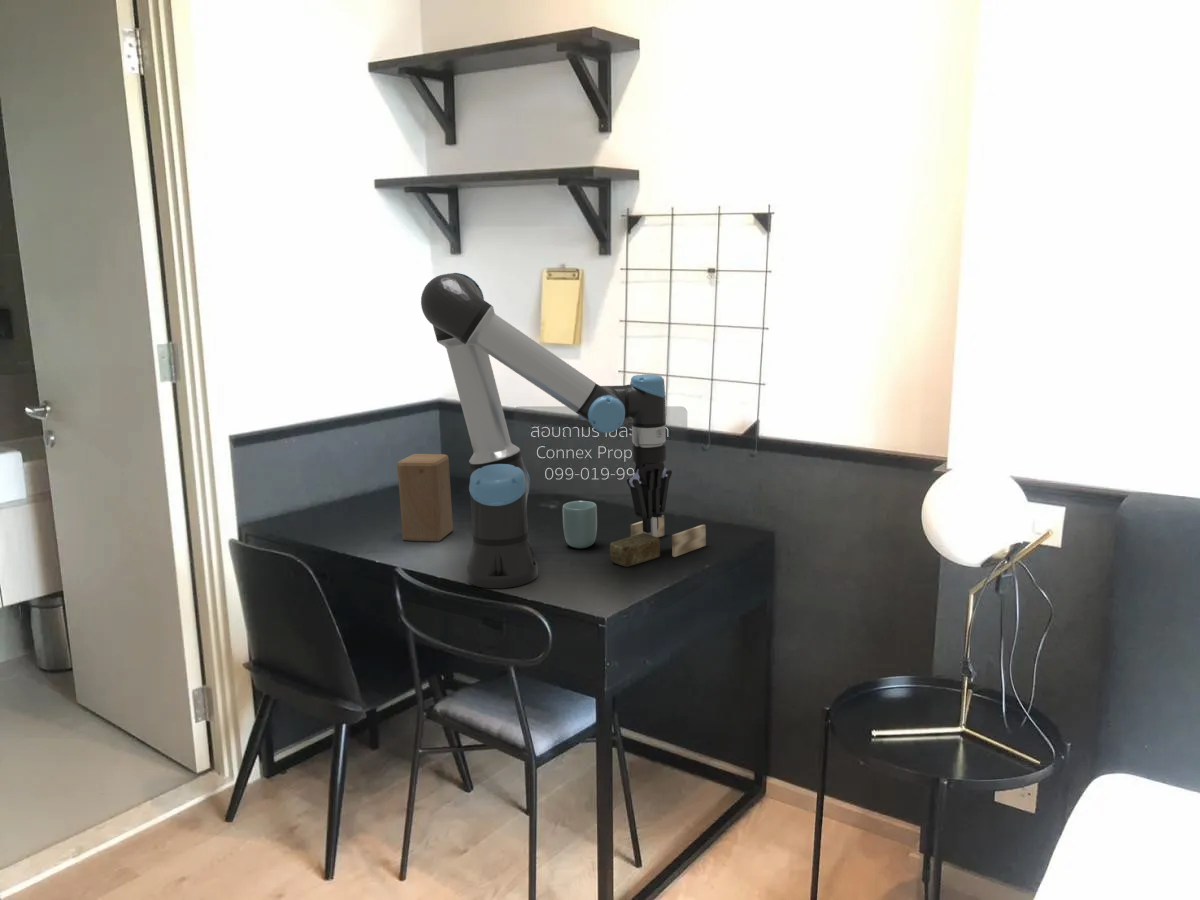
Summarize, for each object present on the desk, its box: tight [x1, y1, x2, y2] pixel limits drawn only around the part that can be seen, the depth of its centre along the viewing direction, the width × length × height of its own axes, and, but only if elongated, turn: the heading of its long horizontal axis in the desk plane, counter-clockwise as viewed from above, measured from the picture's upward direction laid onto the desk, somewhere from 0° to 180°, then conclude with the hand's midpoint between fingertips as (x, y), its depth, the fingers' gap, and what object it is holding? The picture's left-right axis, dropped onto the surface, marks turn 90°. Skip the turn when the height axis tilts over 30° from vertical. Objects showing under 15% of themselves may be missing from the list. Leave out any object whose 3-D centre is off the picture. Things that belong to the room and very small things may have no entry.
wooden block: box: [396, 453, 454, 542], centre depth 226 cm, size 10×10×20 cm
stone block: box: [609, 533, 661, 568], centre depth 205 cm, size 6×12×5 cm, turn 132°
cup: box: [562, 500, 598, 549], centre depth 215 cm, size 8×8×10 cm
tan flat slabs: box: [630, 514, 707, 558], centre depth 214 cm, size 11×14×5 cm
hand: (650, 544), depth 210 cm, fingers closed
